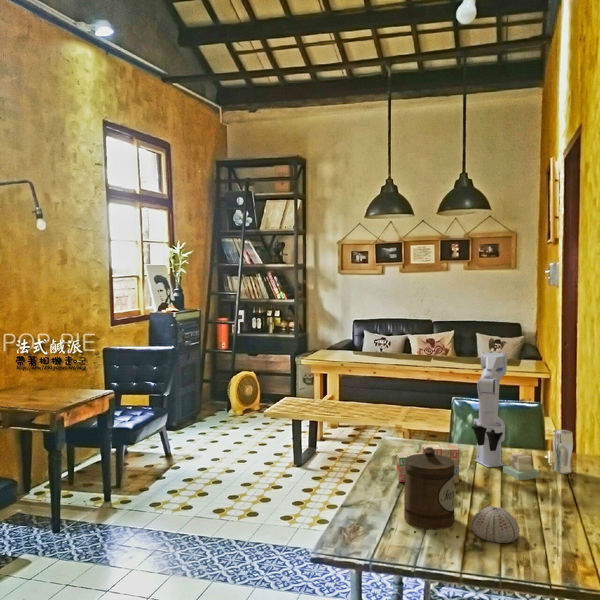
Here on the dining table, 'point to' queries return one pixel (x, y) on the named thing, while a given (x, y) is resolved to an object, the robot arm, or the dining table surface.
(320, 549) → the dining table surface
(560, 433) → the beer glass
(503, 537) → the sea urchin shell
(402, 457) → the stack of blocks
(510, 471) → the green slab
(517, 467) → the ash cube
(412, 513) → the wooden container
